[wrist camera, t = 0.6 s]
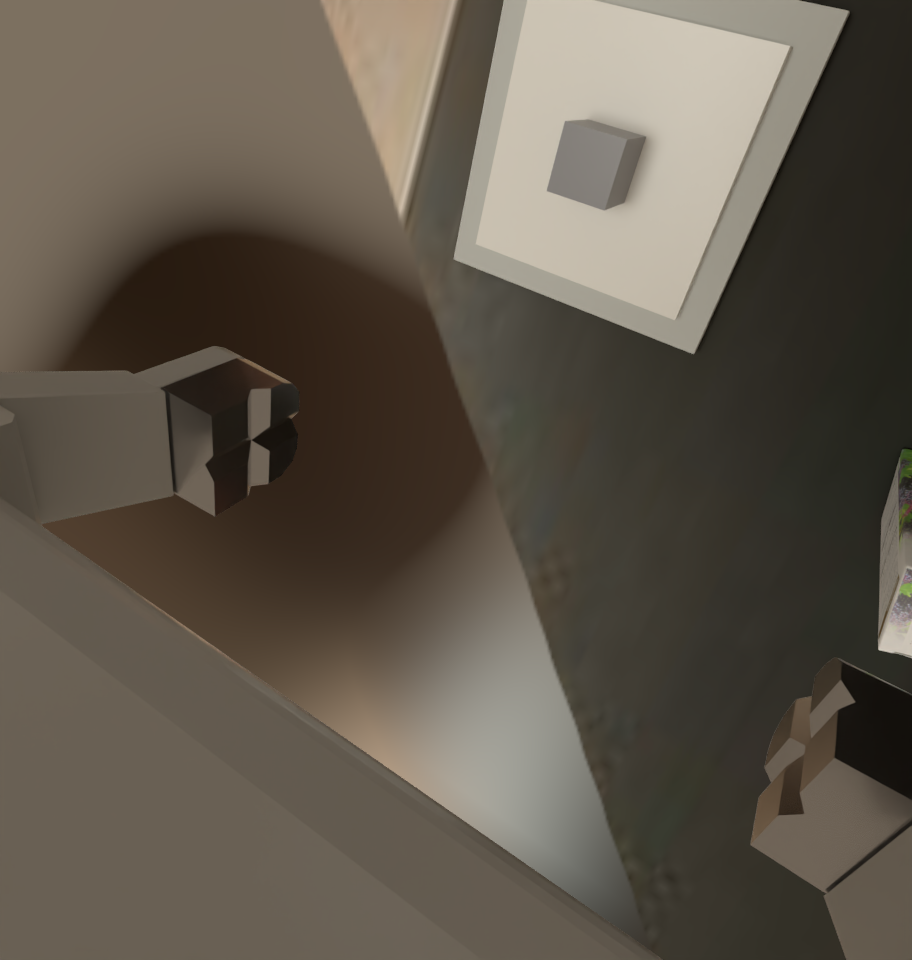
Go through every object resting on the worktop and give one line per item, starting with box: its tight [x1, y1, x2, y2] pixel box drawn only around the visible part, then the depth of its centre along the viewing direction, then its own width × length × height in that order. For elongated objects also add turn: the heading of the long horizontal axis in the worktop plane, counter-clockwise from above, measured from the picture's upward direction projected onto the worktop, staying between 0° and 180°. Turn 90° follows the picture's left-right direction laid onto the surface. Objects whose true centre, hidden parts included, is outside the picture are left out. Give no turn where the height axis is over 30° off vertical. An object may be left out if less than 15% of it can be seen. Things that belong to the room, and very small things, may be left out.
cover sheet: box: [476, 0, 792, 320], centre depth 41 cm, size 16×16×5 cm
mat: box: [454, 0, 850, 354], centre depth 44 cm, size 20×20×1 cm
